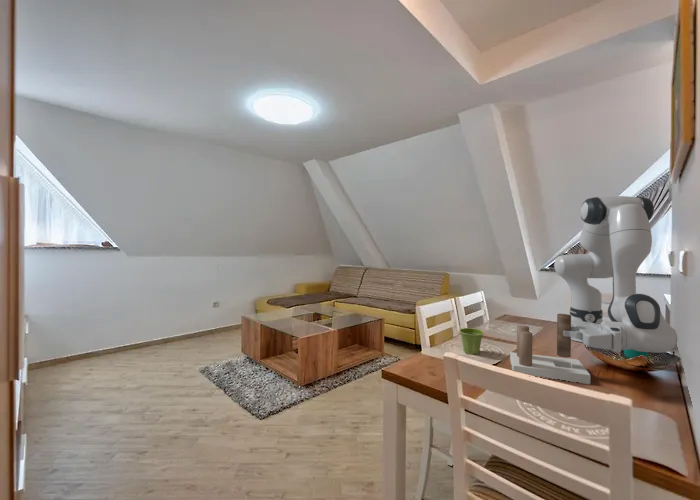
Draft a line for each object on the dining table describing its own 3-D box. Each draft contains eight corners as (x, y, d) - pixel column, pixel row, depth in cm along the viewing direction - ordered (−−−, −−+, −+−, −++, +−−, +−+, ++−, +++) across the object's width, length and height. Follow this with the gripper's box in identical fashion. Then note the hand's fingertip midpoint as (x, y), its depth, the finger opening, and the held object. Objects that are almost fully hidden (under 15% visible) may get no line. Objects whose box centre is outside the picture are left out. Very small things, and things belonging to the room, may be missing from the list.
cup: (633, 368, 116) (634, 334, 116) (613, 359, 124) (613, 328, 124) (654, 367, 117) (655, 334, 116) (633, 358, 125) (633, 327, 124)
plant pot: (486, 351, 135) (486, 330, 134) (479, 358, 127) (479, 336, 127) (464, 346, 140) (464, 326, 140) (456, 352, 133) (456, 331, 133)
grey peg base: (510, 359, 125) (510, 323, 124) (578, 367, 117) (578, 329, 116) (513, 374, 112) (513, 334, 111) (590, 384, 104) (591, 341, 103)
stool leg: (555, 352, 115) (556, 313, 114) (569, 354, 113) (569, 314, 113) (558, 356, 111) (558, 315, 110) (572, 358, 109) (572, 316, 109)
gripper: (599, 318, 116) (554, 315, 122) (622, 333, 98) (568, 329, 103) (599, 335, 117) (554, 331, 122) (622, 354, 98) (568, 349, 103)
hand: (560, 330), depth 112 cm, fingers closed on stool leg, 4 cm apart
